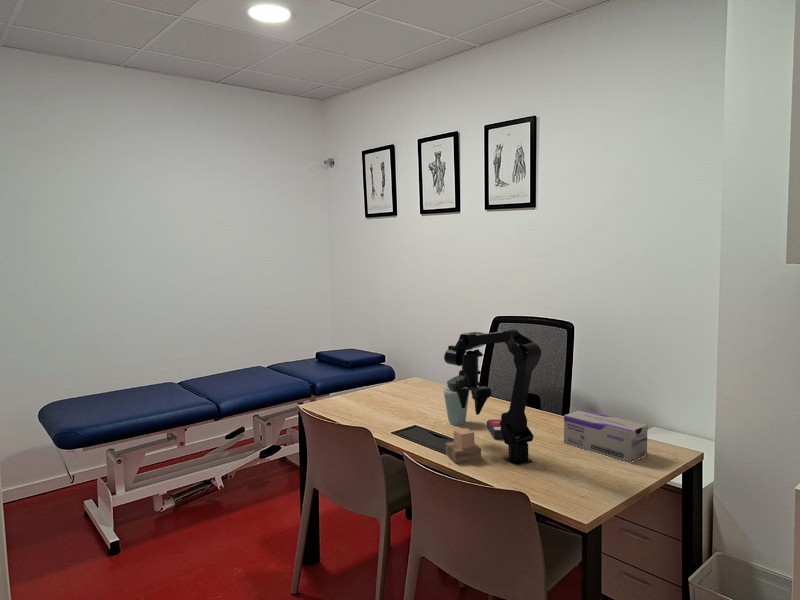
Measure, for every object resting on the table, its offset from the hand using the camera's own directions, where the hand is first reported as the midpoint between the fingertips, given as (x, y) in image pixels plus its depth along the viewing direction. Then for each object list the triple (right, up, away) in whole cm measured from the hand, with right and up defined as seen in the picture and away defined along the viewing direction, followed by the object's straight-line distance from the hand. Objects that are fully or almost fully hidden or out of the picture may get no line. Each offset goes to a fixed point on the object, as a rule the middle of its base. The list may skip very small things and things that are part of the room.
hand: (470, 411), depth 208 cm
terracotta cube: (-4, -9, -12) cm, 16 cm away
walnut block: (-4, -14, -12) cm, 18 cm away
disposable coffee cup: (-2, -10, +27) cm, 28 cm away
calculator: (+15, -11, +13) cm, 23 cm away
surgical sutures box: (+45, -12, -7) cm, 47 cm away
